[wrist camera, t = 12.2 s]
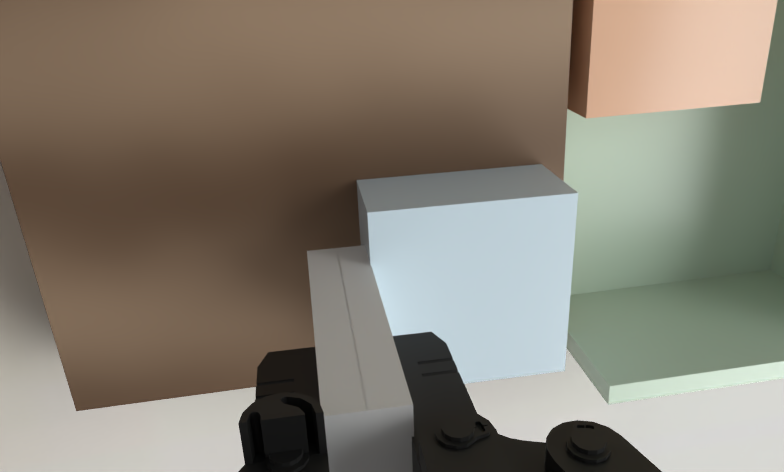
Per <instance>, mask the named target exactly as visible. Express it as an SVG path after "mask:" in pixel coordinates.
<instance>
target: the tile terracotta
mask: <svg viewBox="0 0 784 472" xmlns="http://www.w3.org/2000/svg"><path fill="white" fill-rule="evenodd" d="M777 1H778V0H573V10H572V29H571V48H570V67H569V86H568V105H567V109H569V110H571V111H573V112H575V113H577V114H578V115H580V116H582V117H584V118H597V117H608V116H619V115H630V114H641V113H652V112H663V111H674V110H685V109H696V108H707V107H718V106H728V105H739V104H750V103H760V100H761V95H762V89H763V83H764V77H765V71H766V65H767V60H768V54H769V48H770V42H771V36H772V30H773V25H774V19H775V13H776V7H777Z"/></svg>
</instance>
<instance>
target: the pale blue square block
mask: <svg viewBox="0 0 784 472" xmlns="http://www.w3.org/2000/svg"><path fill="white" fill-rule="evenodd" d="M357 196H358V211H359V226H360V241H361V246H362V245H365V248H366V252H367V255H368V258H369V262H370V265H371V266H372V269H373V272H374V276H375V279H376V282H377V286H378V289H379V292H380V296H381V299H382V302H383V306H384V309H385V312H386V316H387V319H388V322H389V326H390V329H391V332H392V336H397V335H406V334H415V333H423V332H433V333H434V334H435V335H436V336H438V337H439V338H440V339H442V340H443V341H444V342H446V344H447V346H448V348H449V350H450V353H451V355H452V357H453V360H454V362H455V364H456V367H457V369H458V372H459V373H460V376H461V378H462V380H463V383H464V384H466V383H474V382H482V381H489V380H497V379H505V378H513V377H521V376H528V375H536V374H544V373H552V372H560V371H565V360H566V347H567V334H568V321H569V308H570V295H571V282H572V269H573V256H574V243H575V229H576V216H577V203H578V192H576V191H575V190H574V189H573V188H571V187H570V186H569V185H567V184H566V183H565V182H564V181H562V180H561V179H560V178H559V177H557V176H556V175H555V174H553V173H552V172H551V171H550V170H548V169H547V168H546V167H545V166H543V165H542V164H537V165H525V166H513V167H502V168H490V169H479V170H467V171H456V172H444V173H433V174H421V175H410V176H398V177H387V178H375V179H364V180H357Z"/></svg>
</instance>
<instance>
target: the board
mask: <svg viewBox="0 0 784 472" xmlns="http://www.w3.org/2000/svg"><path fill="white" fill-rule="evenodd" d="M572 10H573V0H0V161H1V164H2V167H3V171H4V174H5V177H6V181H7V184H8V187H9V190H10V194H11V197H12V200H13V204H14V207H15V210H16V213H17V217H18V220H19V223H20V227H21V230H22V233H23V237H24V240H25V243H26V246H27V250H28V253H29V256H30V260H31V263H32V266H33V269H34V273H35V276H36V279H37V283H38V286H39V289H40V293H41V296H42V299H43V302H44V306H45V309H46V312H47V316H48V319H49V322H50V325H51V329H52V332H53V335H54V339H55V342H56V345H57V349H58V352H59V355H60V358H61V362H62V365H63V368H64V372H65V375H66V378H67V381H68V385H69V388H70V391H71V395H72V398H73V401H74V405H75V408H76V411H80V410H88V409H95V408H103V407H110V406H117V405H125V404H132V403H139V402H147V401H154V400H161V399H169V398H176V397H184V396H191V395H198V394H206V393H213V392H220V391H228V390H235V389H243V388H250V387H256V386H257V384H256V381H257V367H258V366H259V364H260V363H261V361H262V360H263V359H264V357H265V356H266V355H267V353H268V352H274V351H283V350H291V349H300V348H308V347H315V338H314V327H313V315H312V304H311V292H310V281H309V269H308V258H307V251H311V250H321V249H331V248H342V247H352V246H361V241H360V226H359V211H358V196H357V180H364V179H375V178H387V177H398V176H410V175H421V174H433V173H444V172H456V171H467V170H479V169H490V168H502V167H513V166H525V165H537V164H542V165H543V166H545V167H546V168H547V169H548V170H550V171H551V172H552V173H553V174H555V175H556V176H557V177H559V178H560V179H561V180H562V181H564V162H565V143H566V124H567V105H568V86H569V67H570V48H571V29H572Z"/></svg>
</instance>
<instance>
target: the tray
mask: <svg viewBox="0 0 784 472" xmlns="http://www.w3.org/2000/svg"><path fill="white" fill-rule="evenodd" d="M564 182H565V183H566V184H567V185H569V186H570V187H571V188H573V189H574V190H575V191H576V192H578V203H577V216H576V229H575V243H574V256H573V269H572V282H571V295H570V308H569V321H568V334H567V347H566V348H567V349H568V350H569V352H570V353H571V354H572V356H573V357H574V359H575V360H576V361H577V363H578V364H579V365H580V367H581V368H582V369H583V371H584V372H585V374H586V375H587V376H588V378H589V379H590V380H591V382H592V383H593V384H594V386H595V387H596V388H597V390H598V391H599V393H600V394H601V395H602V397H603V398H604V399H605V401H606V402H607V403H608V404H615V403H622V402H629V401H635V400H642V399H649V398H655V397H662V396H669V395H676V394H682V393H689V392H696V391H703V390H709V389H716V388H723V387H730V386H736V385H743V384H750V383H757V382H763V381H770V380H777V379H783V378H784V0H778V1H777V7H776V13H775V19H774V25H773V30H772V36H771V42H770V48H769V54H768V60H767V65H766V71H765V77H764V83H763V89H762V95H761V100H760V103H750V104H739V105H728V106H718V107H707V108H696V109H685V110H674V111H663V112H652V113H641V114H630V115H619V116H608V117H597V118H584V117H582V116H580V115H578V114H577V113H575V112H573V111H571V110H569V109H567V124H566V143H565V162H564Z"/></svg>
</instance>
